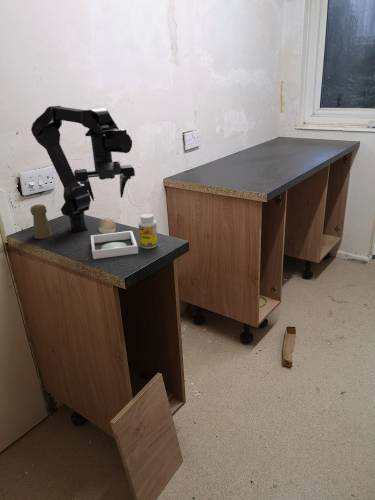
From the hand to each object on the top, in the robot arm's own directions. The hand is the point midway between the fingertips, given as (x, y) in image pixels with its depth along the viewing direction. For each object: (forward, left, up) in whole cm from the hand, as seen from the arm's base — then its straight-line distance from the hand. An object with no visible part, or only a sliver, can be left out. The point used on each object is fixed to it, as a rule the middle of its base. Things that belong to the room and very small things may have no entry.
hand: (107, 199), depth 131 cm
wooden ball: (-1, -1, -13) cm, 13 cm away
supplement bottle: (+13, +11, -13) cm, 21 cm away
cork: (-8, -23, -13) cm, 28 cm away
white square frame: (+11, 0, -13) cm, 17 cm away
